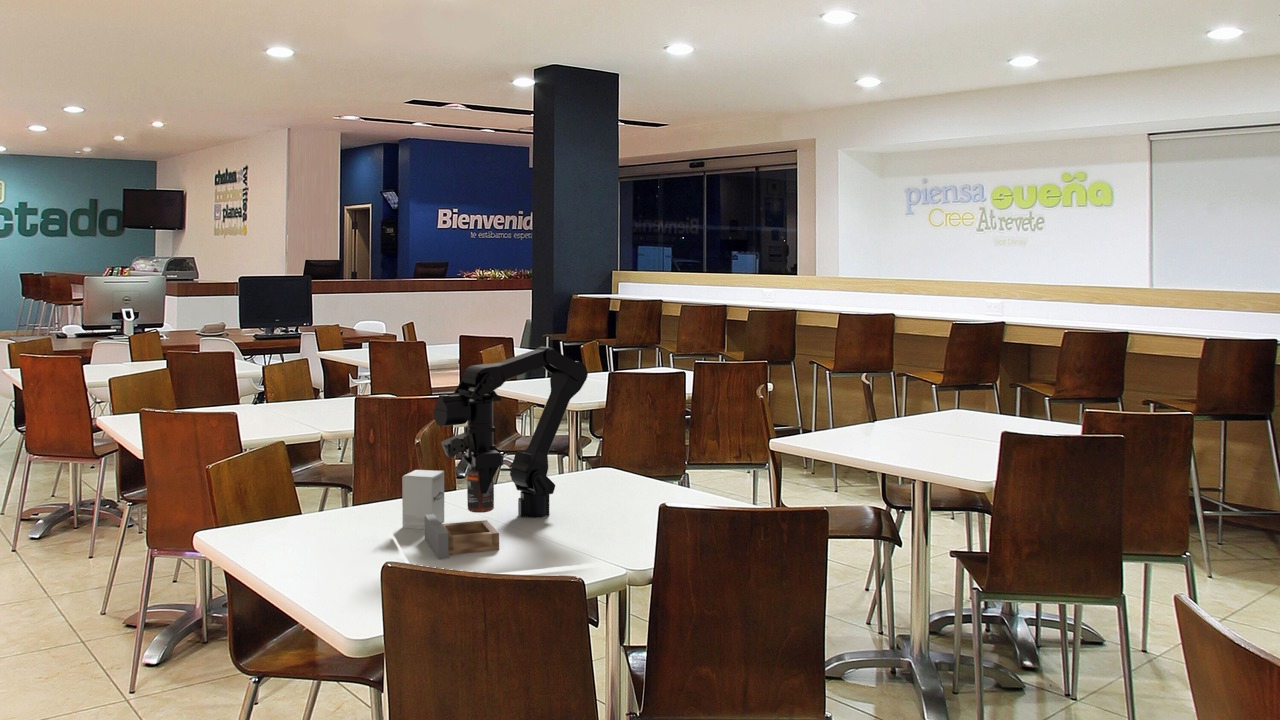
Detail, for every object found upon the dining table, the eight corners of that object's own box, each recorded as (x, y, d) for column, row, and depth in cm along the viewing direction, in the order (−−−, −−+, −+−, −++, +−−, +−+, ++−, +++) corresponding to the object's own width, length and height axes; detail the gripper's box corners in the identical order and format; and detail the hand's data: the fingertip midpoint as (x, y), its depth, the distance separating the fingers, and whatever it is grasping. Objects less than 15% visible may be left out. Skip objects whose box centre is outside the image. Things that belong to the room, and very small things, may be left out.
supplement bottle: (498, 508, 228) (498, 459, 227) (486, 514, 222) (486, 464, 221) (475, 506, 230) (475, 457, 229) (462, 512, 224) (462, 462, 223)
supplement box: (432, 533, 223) (432, 477, 221) (401, 531, 224) (400, 475, 223) (445, 524, 230) (445, 470, 229) (415, 522, 231) (414, 468, 230)
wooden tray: (487, 535, 218) (487, 520, 217) (499, 549, 207) (499, 532, 207) (436, 540, 213) (436, 524, 213) (446, 554, 203) (445, 537, 203)
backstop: (521, 533, 223) (521, 506, 222) (541, 552, 208) (541, 524, 208) (424, 542, 215) (424, 514, 215) (438, 563, 200) (438, 533, 200)
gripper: (436, 417, 230) (437, 484, 232) (452, 430, 213) (453, 502, 214) (484, 415, 234) (484, 481, 236) (503, 427, 217) (504, 498, 218)
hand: (480, 490), depth 226 cm, fingers closed on supplement bottle, 6 cm apart
